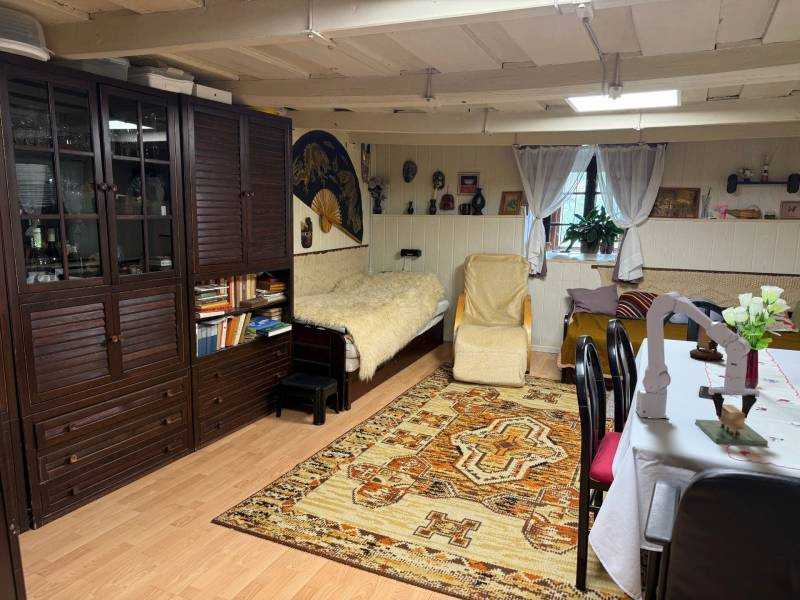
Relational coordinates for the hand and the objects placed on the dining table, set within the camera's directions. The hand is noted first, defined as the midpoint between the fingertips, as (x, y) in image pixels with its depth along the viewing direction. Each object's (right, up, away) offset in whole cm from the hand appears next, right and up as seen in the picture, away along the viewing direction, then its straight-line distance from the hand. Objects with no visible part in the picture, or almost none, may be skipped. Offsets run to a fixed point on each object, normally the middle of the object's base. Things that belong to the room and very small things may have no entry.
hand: (731, 416), depth 184 cm
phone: (+17, 0, +44) cm, 47 cm away
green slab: (0, -6, +1) cm, 6 cm away
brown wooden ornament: (+46, +8, +102) cm, 112 cm away
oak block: (0, -2, 0) cm, 2 cm away
